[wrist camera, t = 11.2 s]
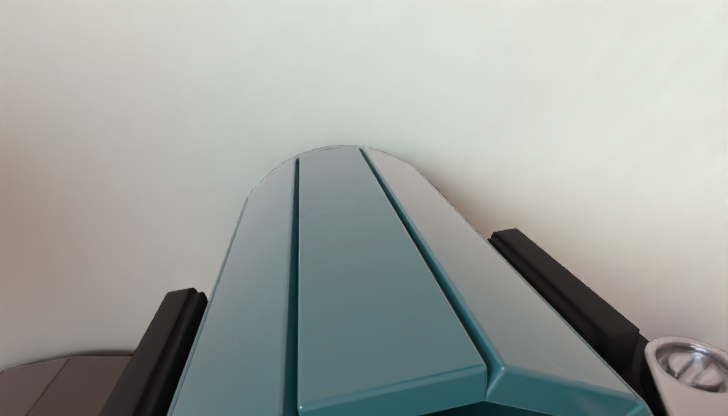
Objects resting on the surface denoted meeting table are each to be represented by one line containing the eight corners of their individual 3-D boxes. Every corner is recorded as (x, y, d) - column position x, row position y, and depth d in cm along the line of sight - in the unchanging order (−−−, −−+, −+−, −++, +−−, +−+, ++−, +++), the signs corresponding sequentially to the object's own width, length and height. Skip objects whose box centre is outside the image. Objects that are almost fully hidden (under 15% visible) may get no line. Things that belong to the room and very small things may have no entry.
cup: (437, 128, 12) (753, 309, 4) (445, 309, 15) (635, 646, 6) (210, 164, 11) (-44, 483, 3) (262, 345, 14) (207, 775, 6)
